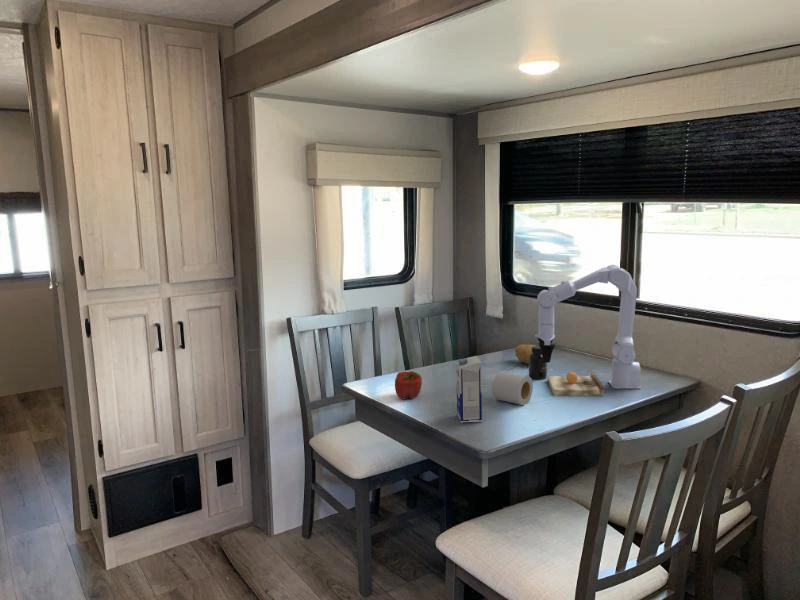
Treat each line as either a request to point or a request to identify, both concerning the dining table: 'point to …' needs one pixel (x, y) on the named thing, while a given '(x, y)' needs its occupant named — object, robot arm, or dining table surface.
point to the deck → (576, 386)
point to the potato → (523, 352)
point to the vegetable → (408, 384)
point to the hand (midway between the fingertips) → (546, 359)
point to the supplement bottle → (537, 364)
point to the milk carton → (469, 389)
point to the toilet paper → (512, 387)
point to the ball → (571, 377)
